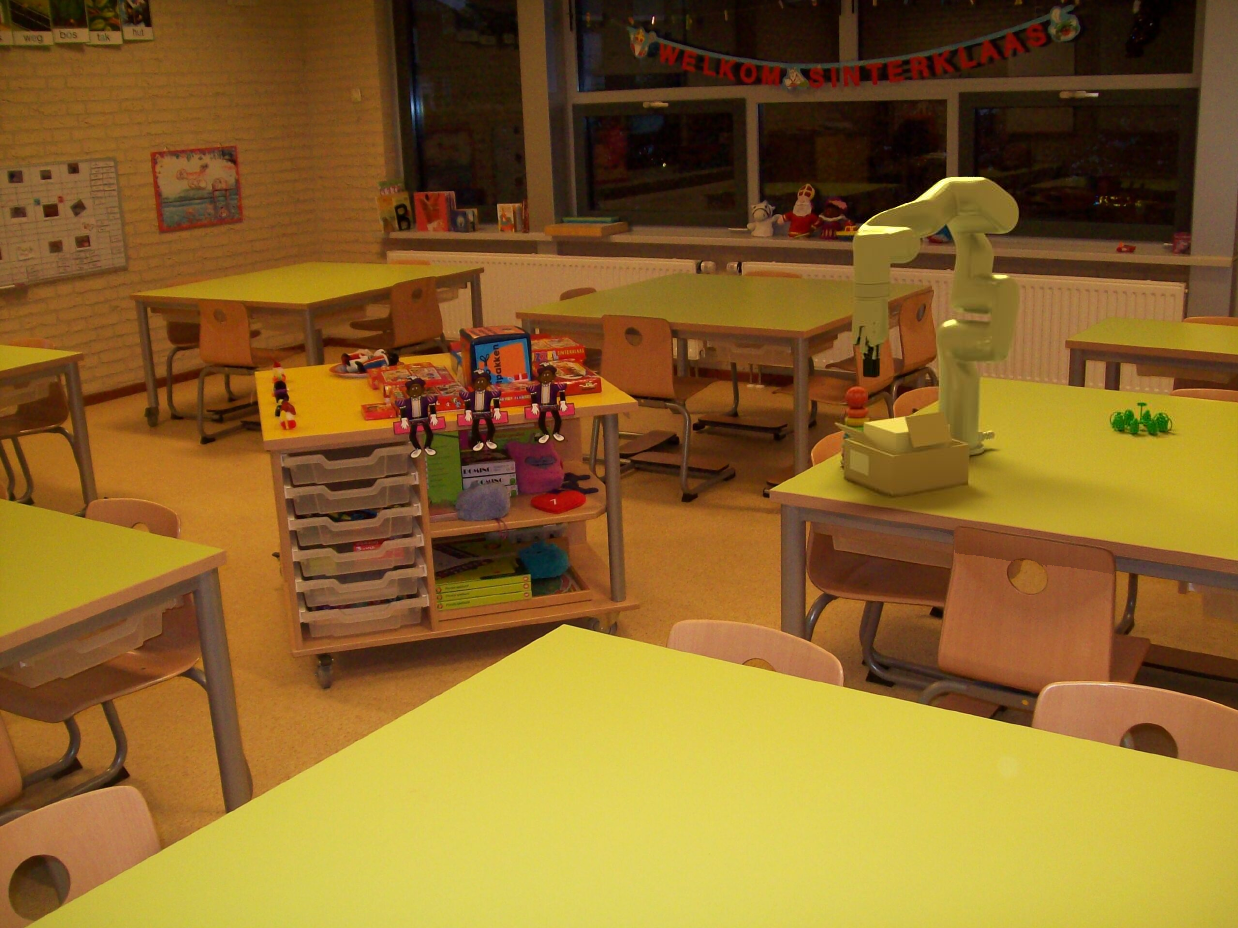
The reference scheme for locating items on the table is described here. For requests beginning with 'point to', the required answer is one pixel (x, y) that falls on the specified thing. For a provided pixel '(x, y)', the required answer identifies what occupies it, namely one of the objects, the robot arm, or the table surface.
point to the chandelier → (1141, 421)
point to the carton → (904, 461)
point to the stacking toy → (855, 412)
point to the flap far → (858, 435)
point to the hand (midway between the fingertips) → (871, 376)
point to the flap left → (928, 429)
